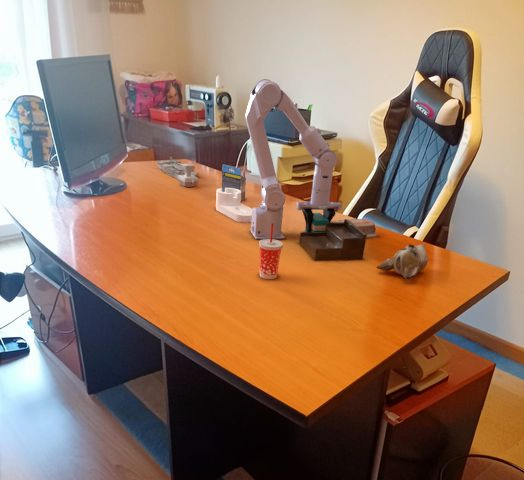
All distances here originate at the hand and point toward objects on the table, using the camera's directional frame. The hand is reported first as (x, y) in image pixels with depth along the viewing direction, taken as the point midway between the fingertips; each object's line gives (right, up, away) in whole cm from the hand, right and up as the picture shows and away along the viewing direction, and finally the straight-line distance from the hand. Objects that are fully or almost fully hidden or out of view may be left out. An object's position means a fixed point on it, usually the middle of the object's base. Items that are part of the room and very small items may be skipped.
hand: (316, 231), depth 167 cm
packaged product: (+11, 0, +5) cm, 12 cm away
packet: (0, -1, +1) cm, 2 cm away
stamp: (-48, +29, +45) cm, 72 cm away
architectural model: (-55, +41, +64) cm, 94 cm away
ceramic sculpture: (+22, -17, -22) cm, 36 cm away
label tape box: (-29, +20, +33) cm, 48 cm away
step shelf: (+3, -8, -10) cm, 14 cm away
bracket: (-27, +10, +16) cm, 32 cm away
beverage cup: (-16, -19, -30) cm, 39 cm away
